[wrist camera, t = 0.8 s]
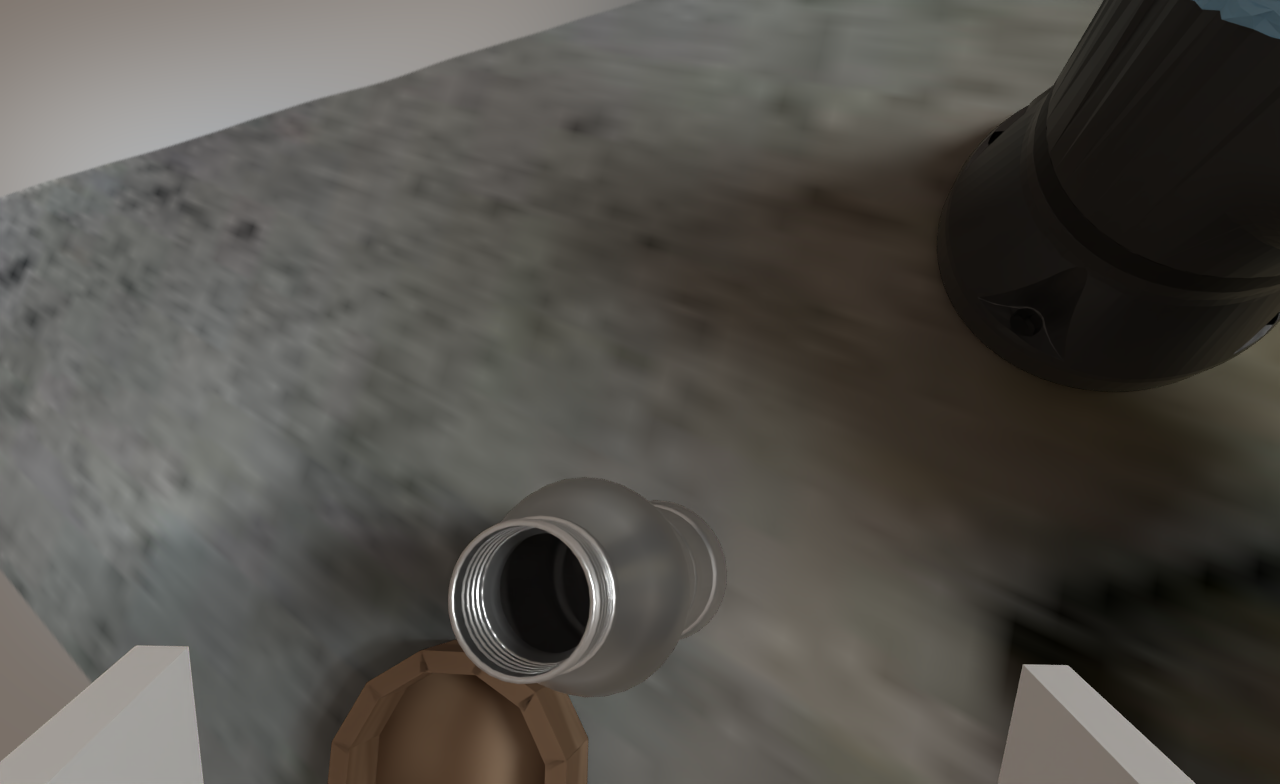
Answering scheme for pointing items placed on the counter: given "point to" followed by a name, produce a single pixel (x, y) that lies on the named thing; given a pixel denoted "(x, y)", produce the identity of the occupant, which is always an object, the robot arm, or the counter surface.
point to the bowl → (457, 728)
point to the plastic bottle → (585, 588)
